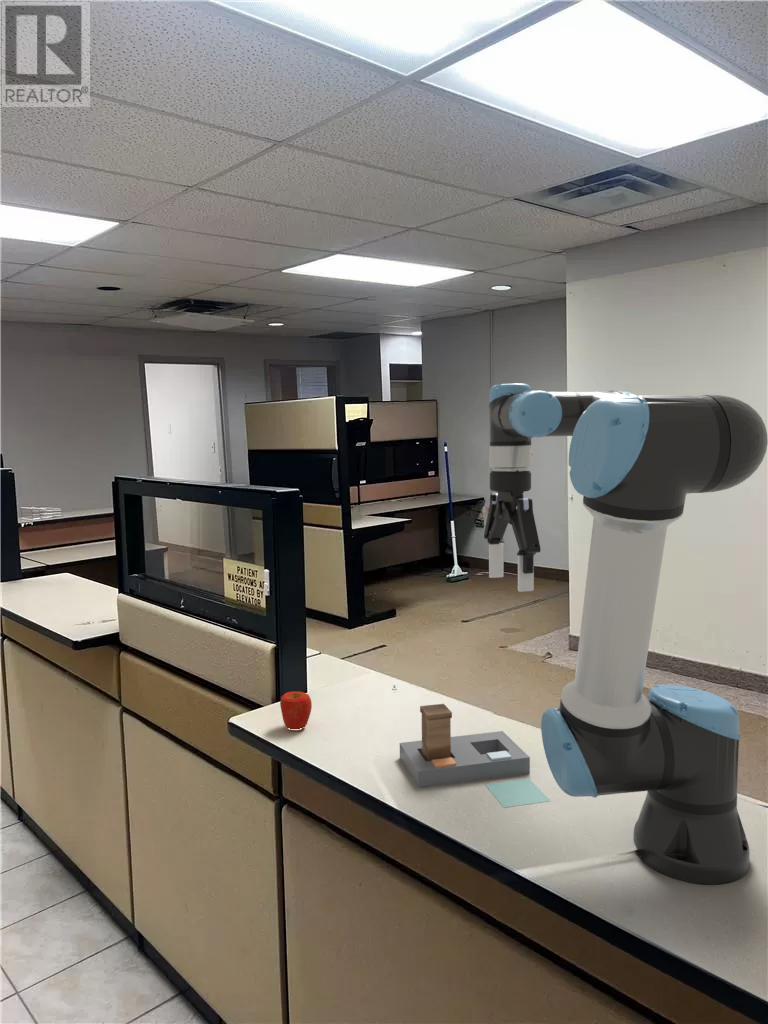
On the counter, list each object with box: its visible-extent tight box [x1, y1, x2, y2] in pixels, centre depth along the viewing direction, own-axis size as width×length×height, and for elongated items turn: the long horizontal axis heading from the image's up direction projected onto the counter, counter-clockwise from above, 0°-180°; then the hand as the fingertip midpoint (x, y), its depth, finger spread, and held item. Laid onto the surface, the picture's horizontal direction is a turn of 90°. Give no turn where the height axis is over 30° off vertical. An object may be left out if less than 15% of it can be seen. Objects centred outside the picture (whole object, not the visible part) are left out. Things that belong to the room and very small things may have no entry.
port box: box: [399, 730, 531, 789], centre depth 132 cm, size 12×20×4 cm, turn 104°
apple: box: [279, 690, 313, 729], centre depth 153 cm, size 6×6×8 cm
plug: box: [419, 703, 453, 761], centre depth 130 cm, size 4×4×12 cm
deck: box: [484, 778, 551, 809], centre depth 121 cm, size 8×8×1 cm
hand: (510, 584), depth 138 cm, fingers open, 13 cm apart
